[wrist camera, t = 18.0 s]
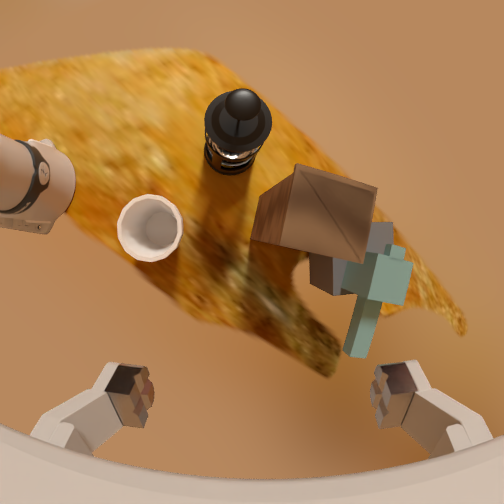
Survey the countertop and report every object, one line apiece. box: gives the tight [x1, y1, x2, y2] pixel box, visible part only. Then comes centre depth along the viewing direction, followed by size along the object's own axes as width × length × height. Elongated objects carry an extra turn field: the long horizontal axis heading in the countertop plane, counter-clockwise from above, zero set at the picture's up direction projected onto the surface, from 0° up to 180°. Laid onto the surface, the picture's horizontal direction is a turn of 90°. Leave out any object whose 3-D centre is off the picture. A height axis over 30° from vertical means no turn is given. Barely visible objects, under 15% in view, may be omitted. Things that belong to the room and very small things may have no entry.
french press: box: [204, 89, 272, 175], centre depth 45 cm, size 12×9×23 cm
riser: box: [309, 222, 393, 296], centre depth 55 cm, size 11×11×12 cm
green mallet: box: [341, 244, 413, 358], centre depth 45 cm, size 17×6×9 cm, turn 167°
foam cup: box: [117, 194, 183, 262], centre depth 50 cm, size 10×9×13 cm
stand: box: [250, 163, 377, 264], centre depth 46 cm, size 9×10×26 cm
